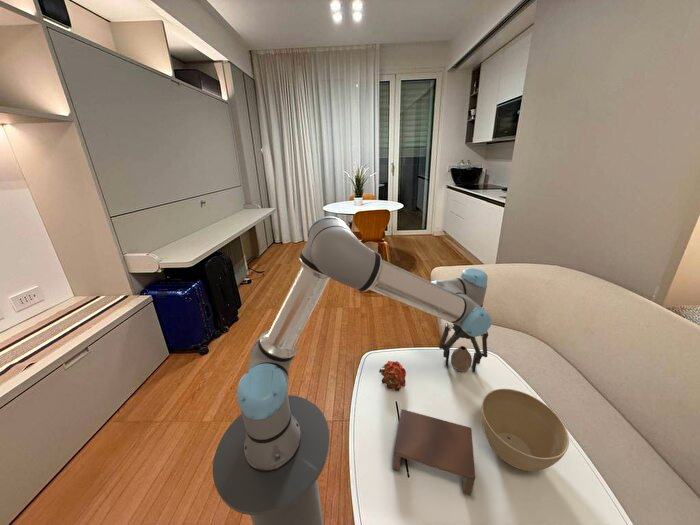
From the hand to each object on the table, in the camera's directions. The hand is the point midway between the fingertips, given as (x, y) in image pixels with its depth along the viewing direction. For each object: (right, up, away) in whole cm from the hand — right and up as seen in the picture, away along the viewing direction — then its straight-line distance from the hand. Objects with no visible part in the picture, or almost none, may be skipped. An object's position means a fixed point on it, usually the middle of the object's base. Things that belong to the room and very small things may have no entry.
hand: (459, 366), depth 97 cm
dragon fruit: (-25, -4, -5) cm, 26 cm away
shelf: (-19, -13, -28) cm, 36 cm away
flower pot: (+3, -12, -27) cm, 30 cm away
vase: (0, 0, 0) cm, 0 cm away
